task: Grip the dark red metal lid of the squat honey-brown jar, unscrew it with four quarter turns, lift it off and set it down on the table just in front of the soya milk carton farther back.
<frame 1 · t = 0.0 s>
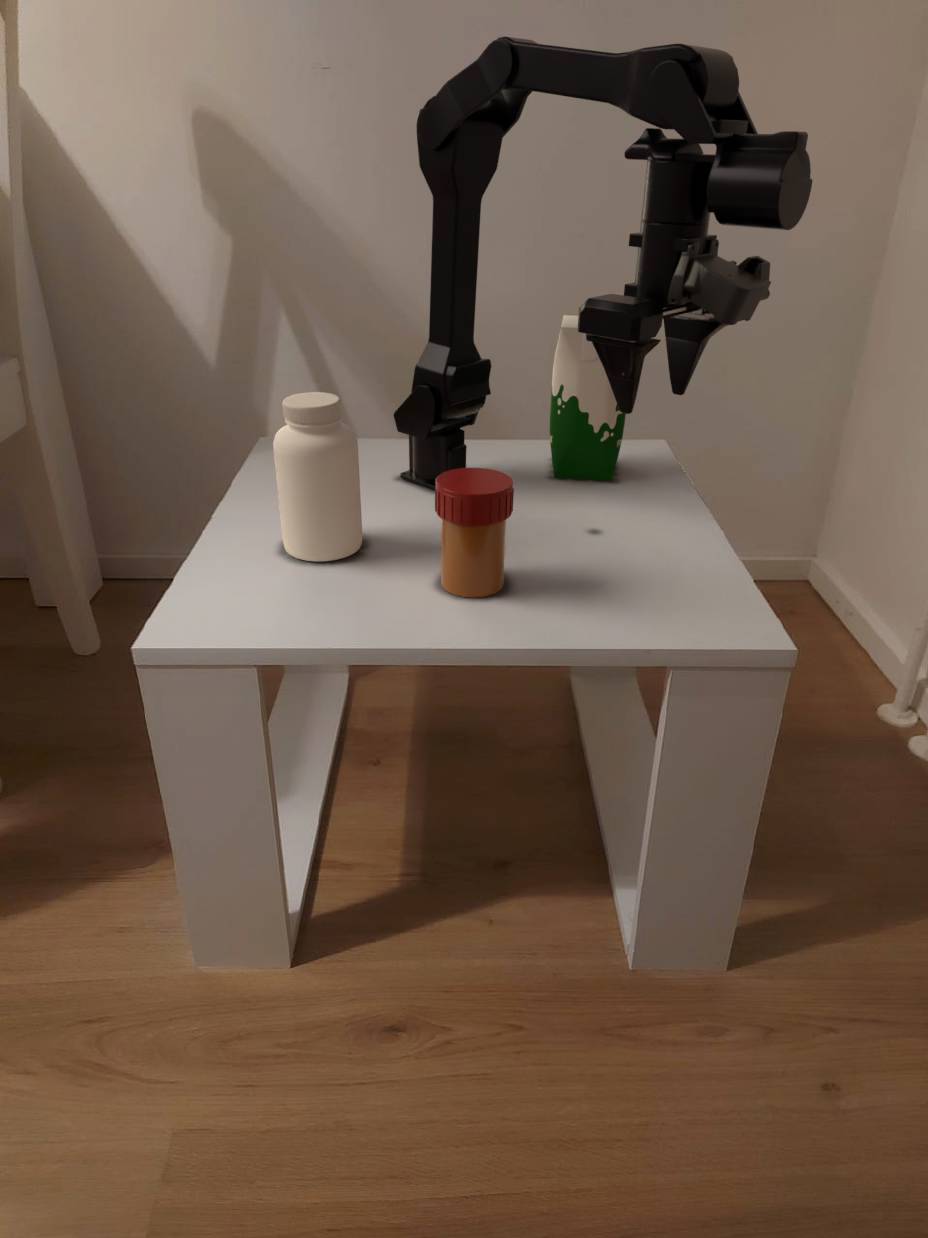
hand: (652, 403, 82), 15 cm above the table, tool pointing down, fingers open, 9 cm apart
jar: (472, 583, 81), on the table
lid: (474, 484, 76), point 10 cm above the table, screwed on, not yet turned
pill bottle: (323, 548, 88), on the table
soya milk: (582, 471, 109), on the table
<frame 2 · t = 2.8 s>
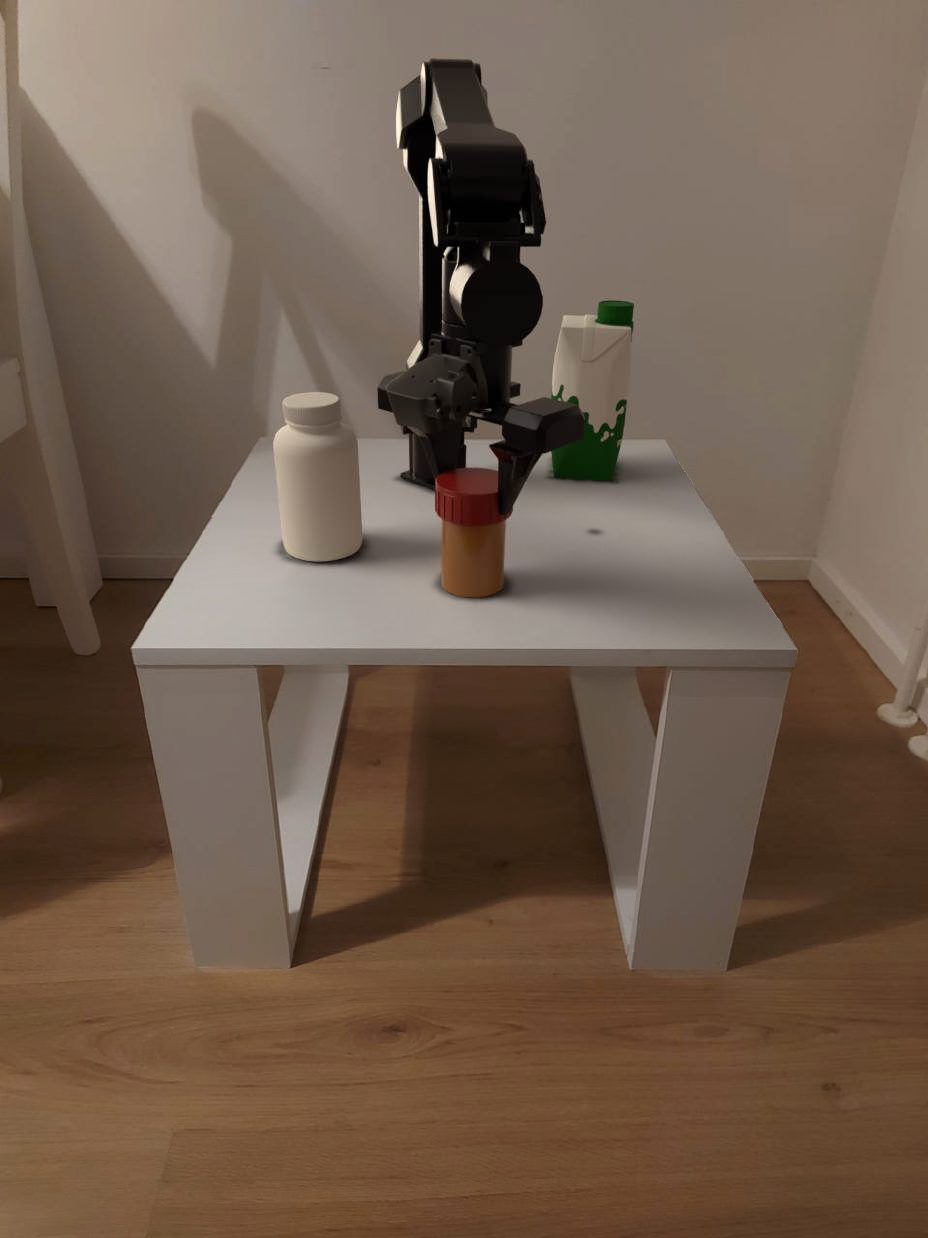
hand: (473, 503, 77), 8 cm above the table, tool pointing down, fingers closed on lid, 7 cm apart
lid: (474, 484, 76), point 10 cm above the table, screwed on, not yet turned, touching gripper
everything else where it was.
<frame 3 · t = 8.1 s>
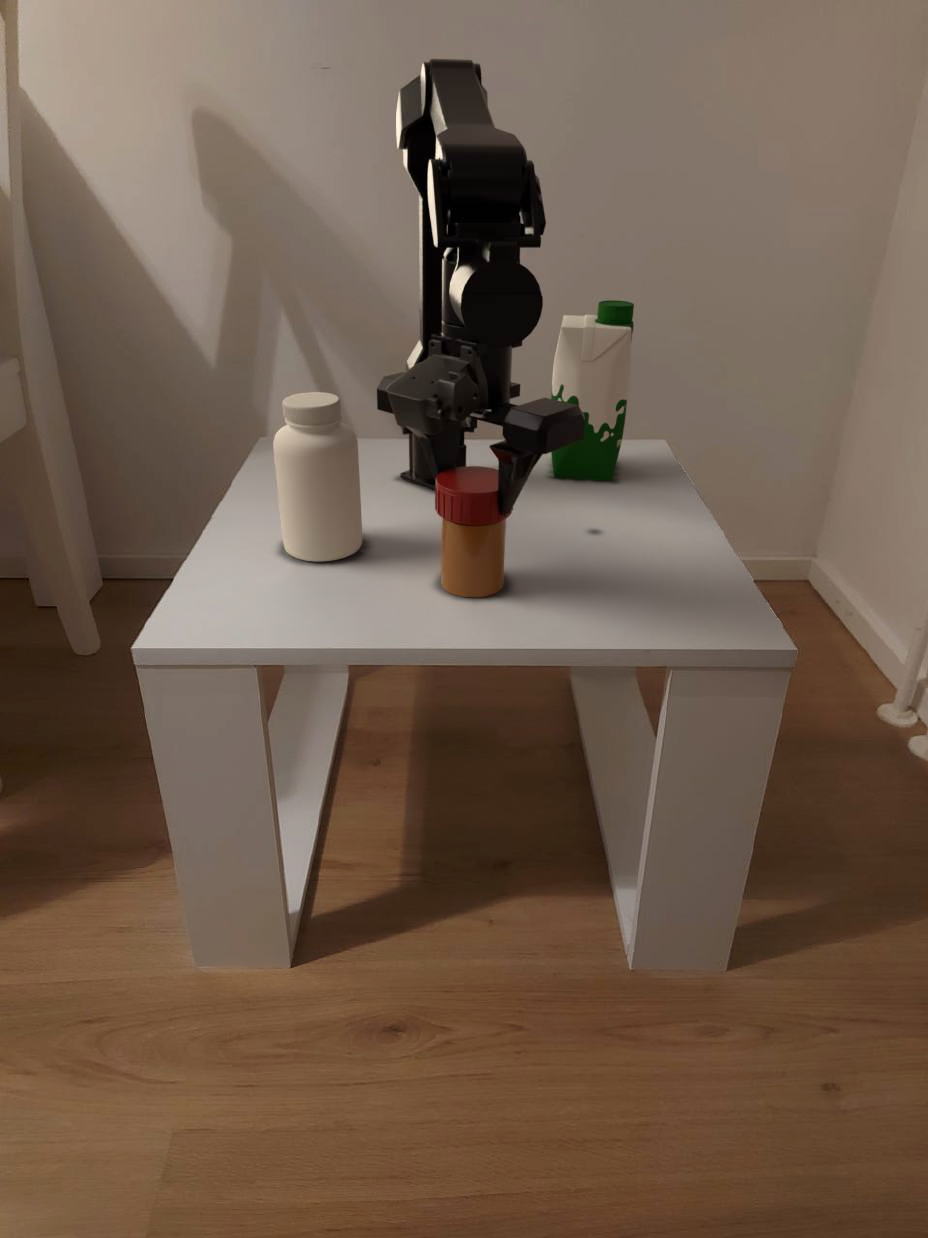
hand: (473, 503, 77), 8 cm above the table, tool pointing down, fingers closed on lid, 7 cm apart
lid: (474, 483, 76), point 10 cm above the table, turned 89° so far, risen 0.1 cm, still on its thread, touching gripper
everything else where it was.
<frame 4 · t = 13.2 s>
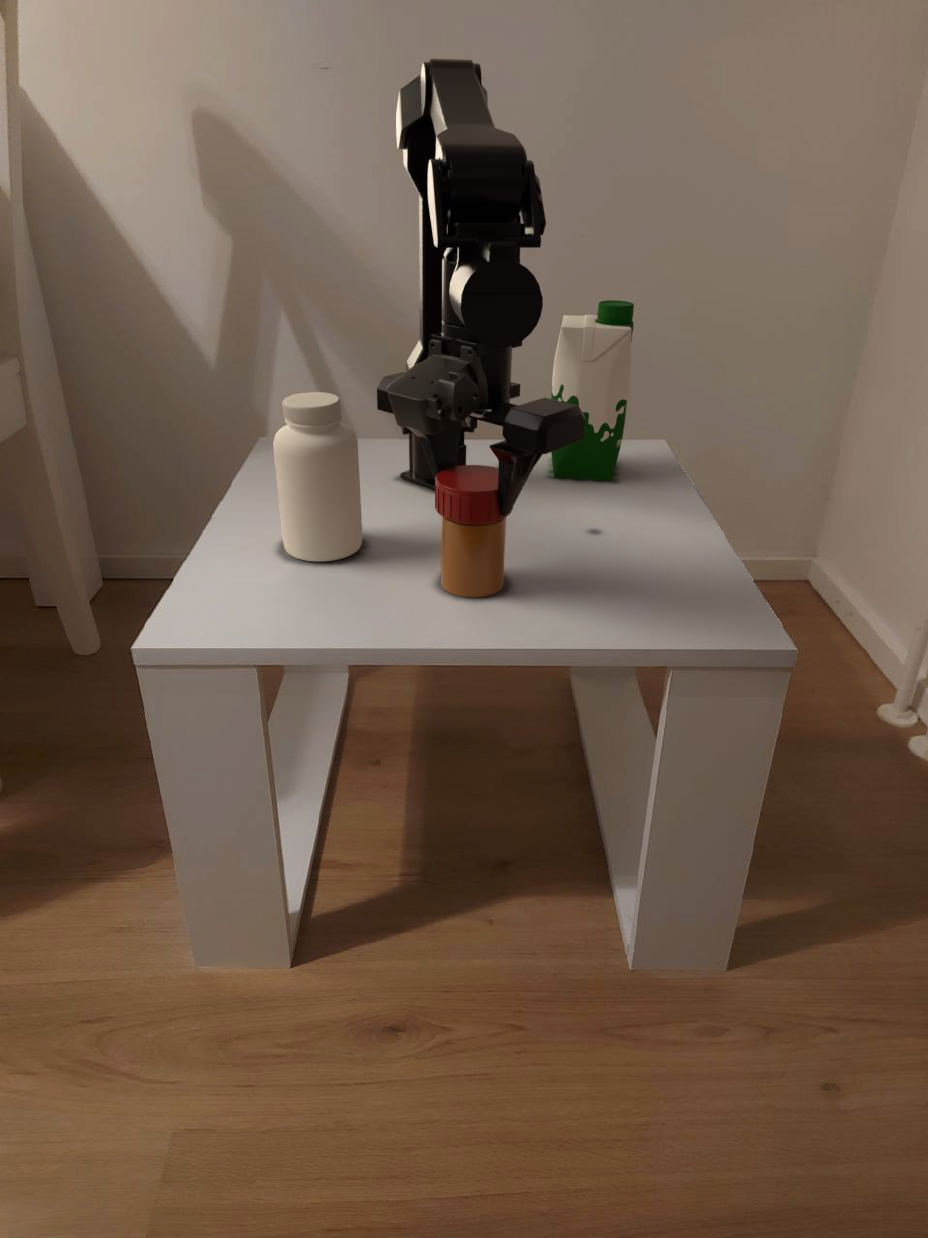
hand: (473, 503, 77), 8 cm above the table, tool pointing down, fingers closed on lid, 7 cm apart
lid: (474, 481, 76), point 10 cm above the table, turned 178° so far, risen 0.2 cm, still on its thread, touching gripper
everything else where it was.
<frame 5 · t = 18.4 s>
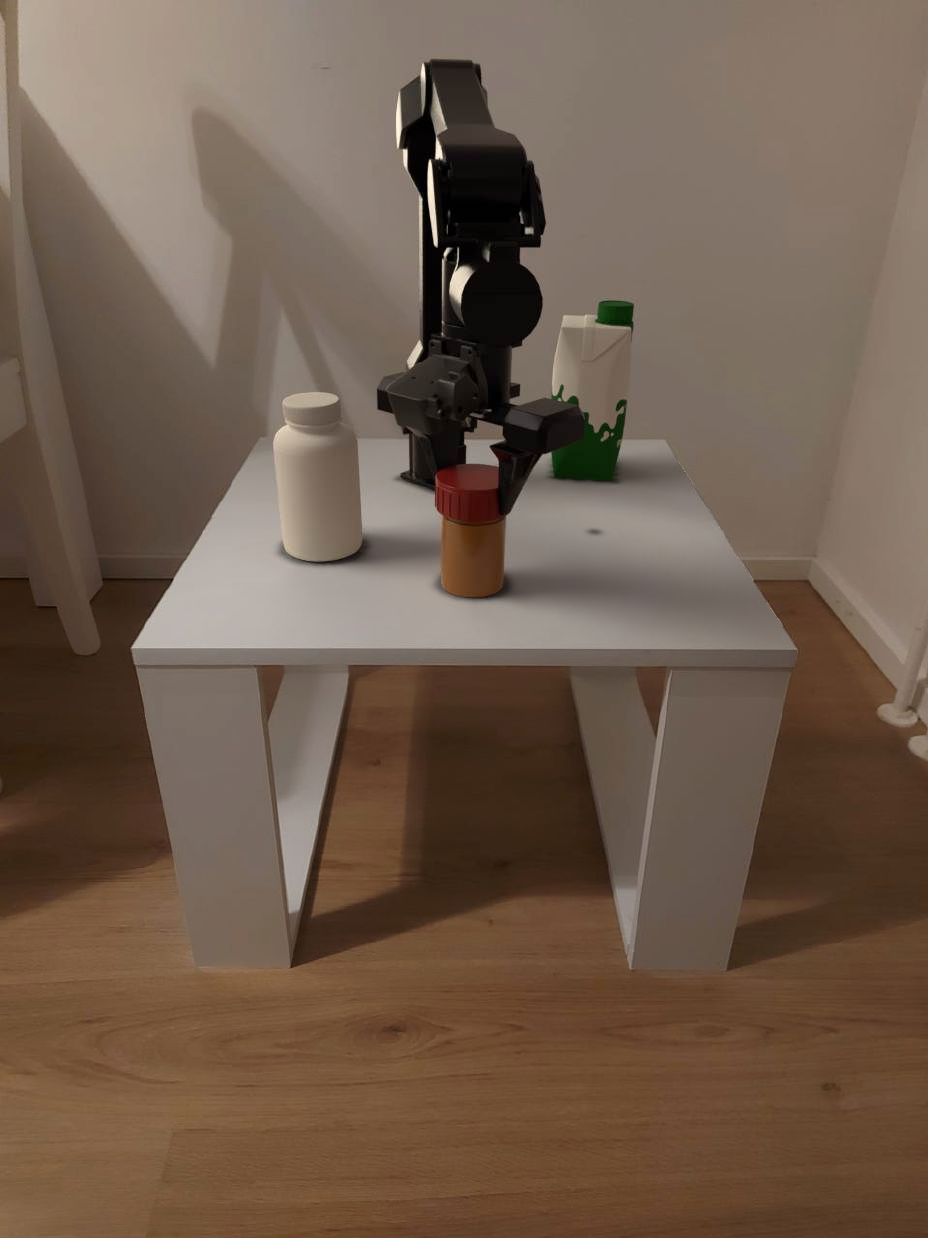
hand: (473, 503, 77), 8 cm above the table, tool pointing down, fingers closed on lid, 7 cm apart
lid: (474, 480, 76), point 10 cm above the table, turned 266° so far, risen 0.4 cm, still on its thread, touching gripper
everything else where it was.
when the fingers open (0 cm above the table, at t = 25.5 s): lid stays where it is, point 2 cm above the table.
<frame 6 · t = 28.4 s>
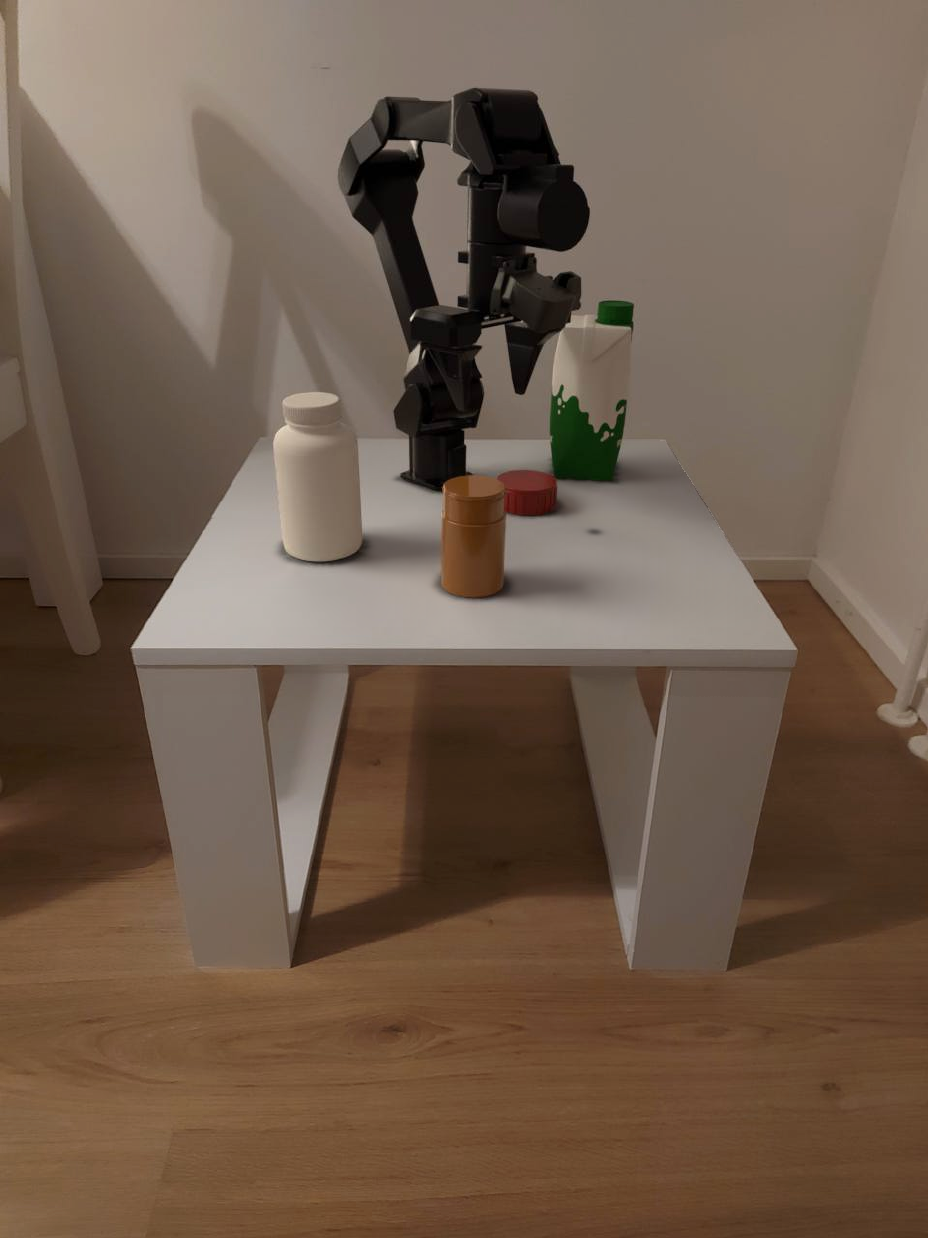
hand: (492, 402, 91), 12 cm above the table, tool pointing down, fingers open, 9 cm apart
lid: (526, 483, 97), point 2 cm above the table, off its thread
everything else where it was.
at the end: lid came off its thread; lid inside the target area on the table beside the soya milk (0.0 cm from its centre), point 2.7 cm above the table; the gripper is holding nothing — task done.
